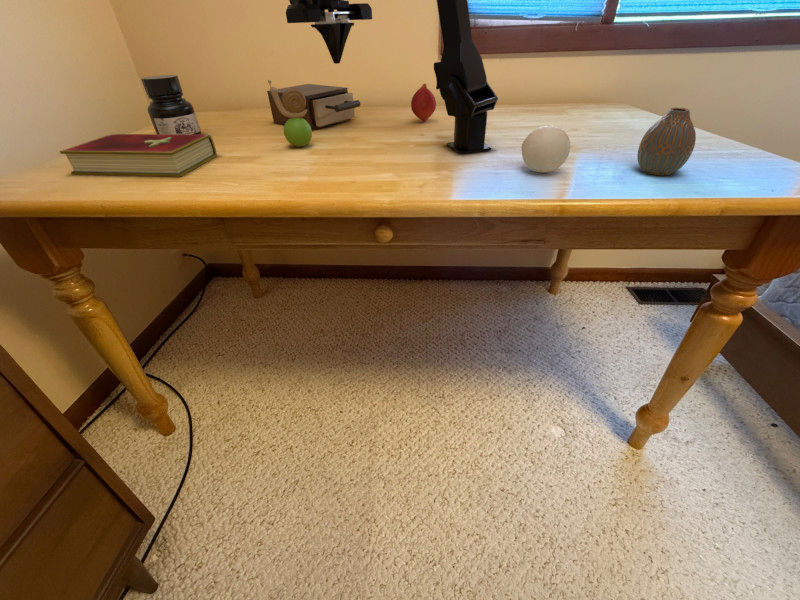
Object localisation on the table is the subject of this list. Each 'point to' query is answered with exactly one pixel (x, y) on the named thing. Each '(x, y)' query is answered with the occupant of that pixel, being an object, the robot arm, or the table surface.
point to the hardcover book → (141, 154)
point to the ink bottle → (169, 106)
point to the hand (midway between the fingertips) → (336, 63)
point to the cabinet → (309, 93)
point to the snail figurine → (293, 115)
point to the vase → (667, 143)
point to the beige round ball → (545, 149)
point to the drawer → (333, 108)
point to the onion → (423, 103)
